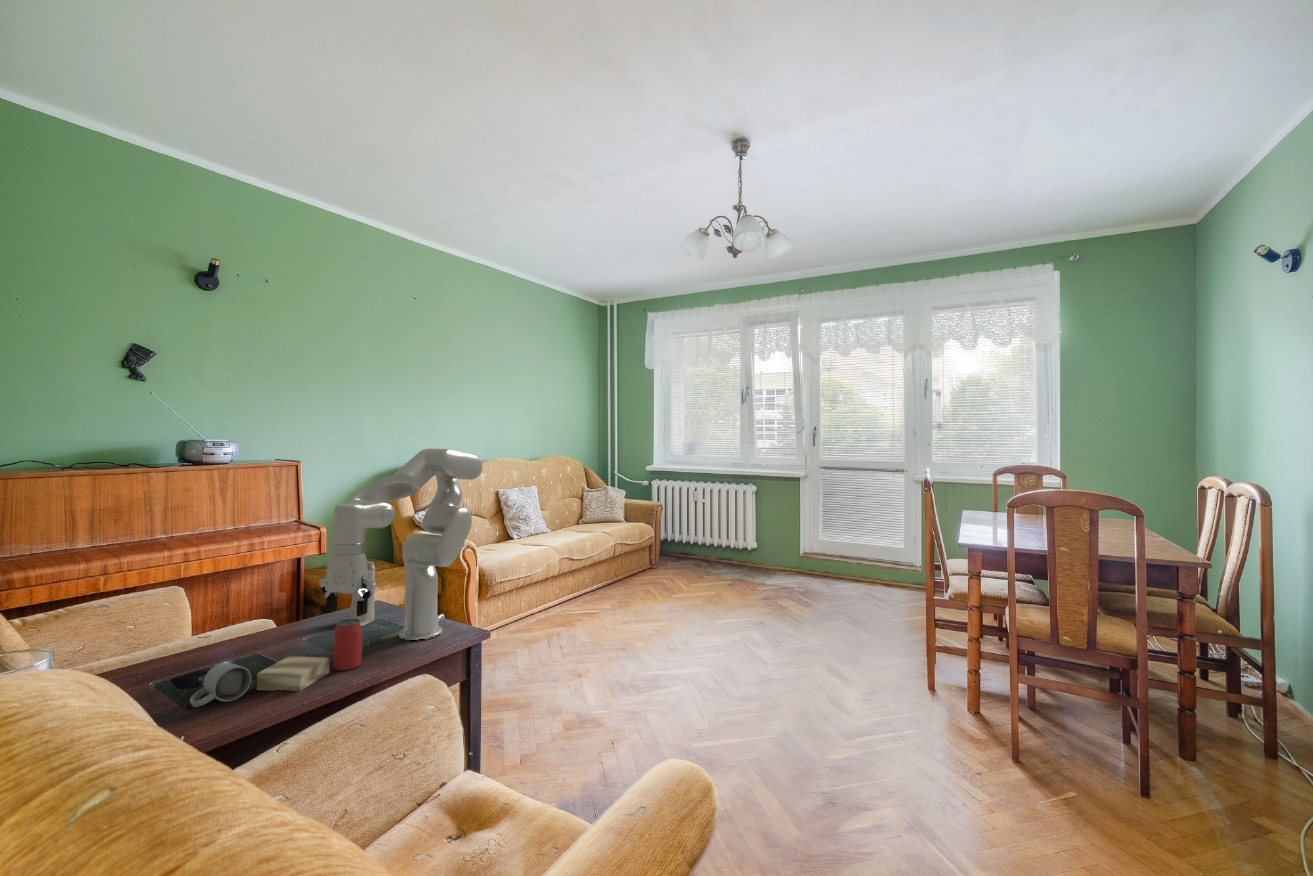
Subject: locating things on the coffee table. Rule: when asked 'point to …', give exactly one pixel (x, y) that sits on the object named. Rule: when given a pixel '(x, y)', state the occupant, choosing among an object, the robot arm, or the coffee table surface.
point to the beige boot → (370, 609)
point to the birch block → (293, 673)
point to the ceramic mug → (223, 684)
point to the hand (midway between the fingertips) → (346, 613)
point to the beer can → (347, 644)
